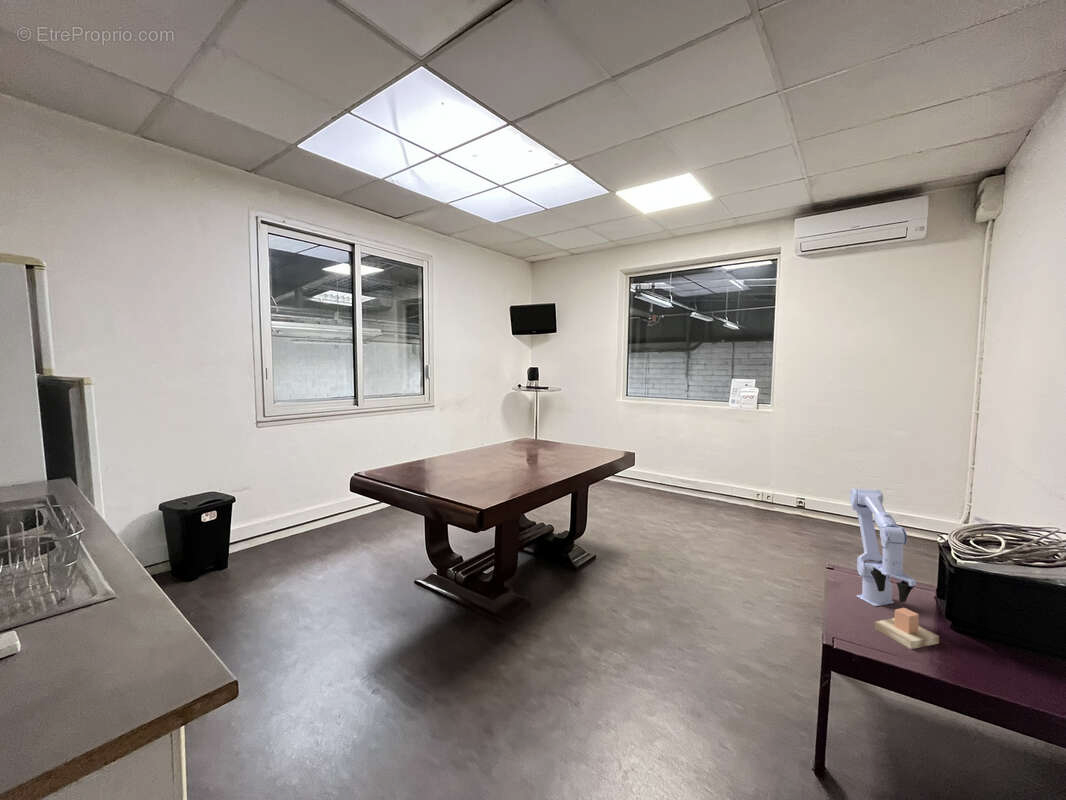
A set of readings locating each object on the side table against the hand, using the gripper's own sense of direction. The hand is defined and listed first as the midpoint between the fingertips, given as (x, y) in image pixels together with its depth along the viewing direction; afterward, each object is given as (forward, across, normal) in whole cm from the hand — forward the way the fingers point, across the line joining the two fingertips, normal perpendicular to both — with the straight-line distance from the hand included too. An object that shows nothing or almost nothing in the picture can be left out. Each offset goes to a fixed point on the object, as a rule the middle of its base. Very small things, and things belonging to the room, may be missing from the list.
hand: (891, 596), depth 157 cm
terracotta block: (+7, +8, -4) cm, 11 cm away
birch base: (+10, +8, -4) cm, 13 cm away
